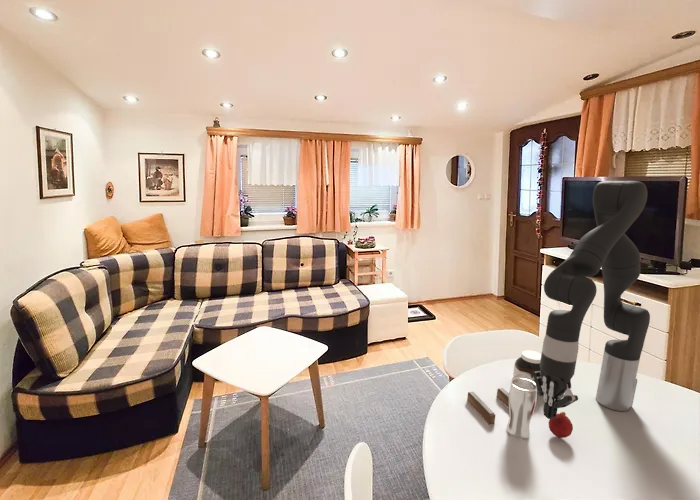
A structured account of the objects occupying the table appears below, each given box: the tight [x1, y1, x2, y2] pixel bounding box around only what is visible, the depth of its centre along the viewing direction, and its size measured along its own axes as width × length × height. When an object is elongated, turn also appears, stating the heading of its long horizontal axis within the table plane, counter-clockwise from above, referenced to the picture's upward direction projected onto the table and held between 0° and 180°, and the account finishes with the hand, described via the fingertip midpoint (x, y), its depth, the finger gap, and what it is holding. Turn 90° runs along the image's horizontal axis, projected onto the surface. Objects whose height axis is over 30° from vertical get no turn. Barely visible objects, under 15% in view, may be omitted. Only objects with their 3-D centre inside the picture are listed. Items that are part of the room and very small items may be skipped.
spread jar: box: [511, 350, 543, 392], centre depth 130 cm, size 12×11×12 cm
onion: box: [548, 411, 574, 439], centre depth 106 cm, size 6×6×8 cm
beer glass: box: [505, 378, 538, 440], centre depth 107 cm, size 7×7×15 cm
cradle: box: [466, 387, 509, 426], centre depth 118 cm, size 13×12×3 cm
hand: (549, 416), depth 97 cm, fingers closed
